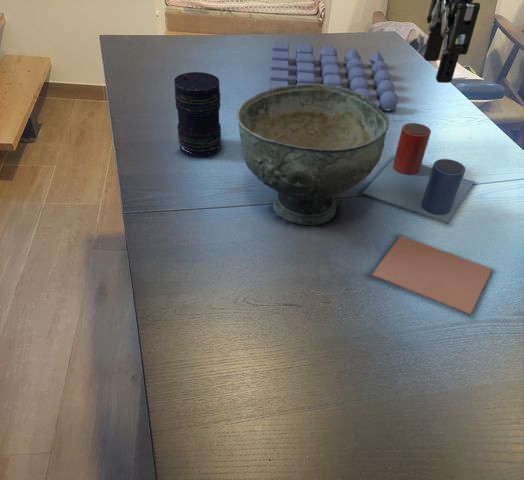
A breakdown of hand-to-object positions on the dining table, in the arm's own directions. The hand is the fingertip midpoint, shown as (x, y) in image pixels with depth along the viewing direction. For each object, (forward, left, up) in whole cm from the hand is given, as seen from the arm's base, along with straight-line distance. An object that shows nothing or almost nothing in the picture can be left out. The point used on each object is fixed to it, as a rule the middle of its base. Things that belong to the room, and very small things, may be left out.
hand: (436, 70), depth 77 cm
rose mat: (-11, +7, -30) cm, 33 cm away
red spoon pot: (+7, -26, -30) cm, 40 cm away
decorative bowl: (+19, +2, -30) cm, 36 cm away
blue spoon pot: (-4, -14, -30) cm, 33 cm away
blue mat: (+1, -20, -30) cm, 36 cm away
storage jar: (+51, -6, -30) cm, 59 cm away
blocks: (+43, -59, -30) cm, 79 cm away
